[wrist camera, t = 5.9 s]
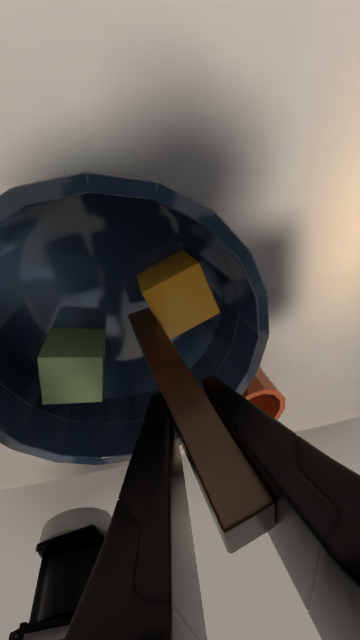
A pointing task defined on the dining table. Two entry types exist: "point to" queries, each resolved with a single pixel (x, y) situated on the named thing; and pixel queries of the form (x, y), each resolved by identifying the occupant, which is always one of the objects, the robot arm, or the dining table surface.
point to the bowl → (112, 304)
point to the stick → (206, 441)
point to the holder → (265, 395)
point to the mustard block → (178, 293)
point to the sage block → (72, 366)
